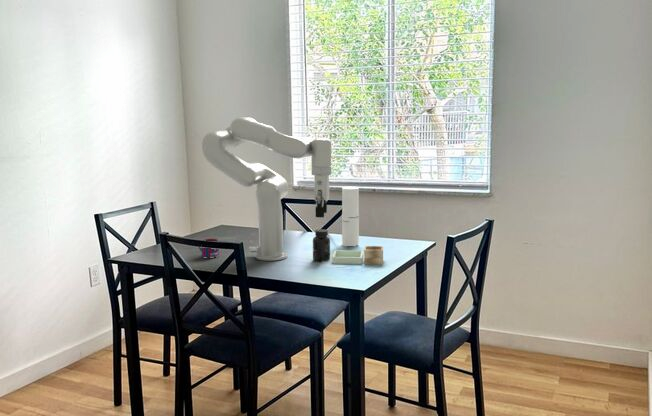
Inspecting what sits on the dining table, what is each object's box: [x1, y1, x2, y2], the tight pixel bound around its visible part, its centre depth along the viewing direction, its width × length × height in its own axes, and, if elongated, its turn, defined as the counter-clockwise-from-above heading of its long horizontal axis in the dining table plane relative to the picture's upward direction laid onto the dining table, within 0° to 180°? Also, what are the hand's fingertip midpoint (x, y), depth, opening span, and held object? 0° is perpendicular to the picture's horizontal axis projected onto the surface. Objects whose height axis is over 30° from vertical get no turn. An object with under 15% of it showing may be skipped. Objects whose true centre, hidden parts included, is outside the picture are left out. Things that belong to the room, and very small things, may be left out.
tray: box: [332, 249, 364, 265], centre depth 237 cm, size 11×11×3 cm
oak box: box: [363, 245, 384, 265], centre depth 234 cm, size 7×7×6 cm
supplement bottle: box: [312, 228, 331, 263], centre depth 239 cm, size 7×7×12 cm
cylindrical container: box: [341, 186, 360, 247], centre depth 264 cm, size 7×7×25 cm
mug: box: [198, 238, 220, 258], centre depth 247 cm, size 7×10×7 cm
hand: (321, 214), depth 237 cm, fingers open, 9 cm apart
